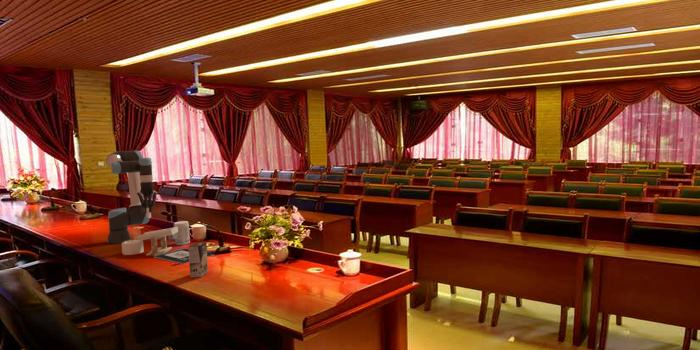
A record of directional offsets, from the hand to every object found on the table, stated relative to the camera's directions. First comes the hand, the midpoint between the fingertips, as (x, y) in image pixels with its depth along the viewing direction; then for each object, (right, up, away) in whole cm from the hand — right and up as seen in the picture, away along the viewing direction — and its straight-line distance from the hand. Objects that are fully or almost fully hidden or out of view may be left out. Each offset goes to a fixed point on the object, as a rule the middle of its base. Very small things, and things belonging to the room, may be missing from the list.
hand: (149, 217), depth 301 cm
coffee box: (+53, -24, -62) cm, 85 cm away
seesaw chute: (+11, -13, -5) cm, 18 cm away
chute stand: (+10, -21, -9) cm, 25 cm away
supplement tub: (+17, -19, +13) cm, 29 cm away
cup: (-7, -21, -8) cm, 24 cm away
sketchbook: (+31, -22, -22) cm, 44 cm away
